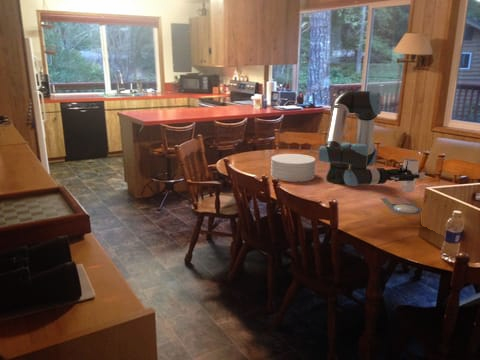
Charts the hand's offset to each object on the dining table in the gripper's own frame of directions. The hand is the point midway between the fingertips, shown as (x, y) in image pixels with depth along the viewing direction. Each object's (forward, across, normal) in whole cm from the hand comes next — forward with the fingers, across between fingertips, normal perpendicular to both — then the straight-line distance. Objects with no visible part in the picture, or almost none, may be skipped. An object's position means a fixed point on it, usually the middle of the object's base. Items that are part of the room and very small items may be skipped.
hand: (419, 173), depth 201 cm
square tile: (-2, -11, -18) cm, 22 cm away
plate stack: (-37, -74, -19) cm, 85 cm away
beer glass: (-5, 0, -8) cm, 10 cm away
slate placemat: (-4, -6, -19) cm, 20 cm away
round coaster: (-5, 0, -18) cm, 19 cm away
